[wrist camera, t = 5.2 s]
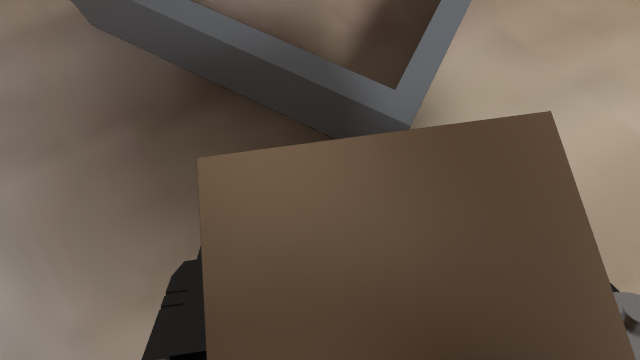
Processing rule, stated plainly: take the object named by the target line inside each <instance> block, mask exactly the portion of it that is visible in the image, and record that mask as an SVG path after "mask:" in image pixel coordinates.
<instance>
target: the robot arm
mask: <svg viewBox="0 0 640 360" xmlns="http://www.w3.org/2000/svg"><path fill="white" fill-rule="evenodd" d="M610 285H611V288H612V291H613V294H614V297H615V300H616V303H617V306H618V308H619V311H620V314H621V317H622V320H623V323H624V326H625V329H626V332H627V335H628V338H629V341H630V343H631V346H632V349H633V352H634V355H635V358H636V360H640V295H638V294H633V293H626V292H620V291H619V290H618V289H616V288H615V287H614V286H613V285H612V284H611V283H610ZM142 360H207V351H206V331H205V311H204V291H203V271H202V251H201V247H200V250H199V254H198V257H197V260H190V261H184V263H183V264H182V265H181V266H180V267H179V268H178V269H177V271H176V272H175V273H174V274H173V275H172V276H171V279H170V282H169V285H168V287H167V290H166V296H164V299H163V301H162V304H161V310H159V313H158V315H157V318H156V321H155V324H154V327H153V329H152V332H151V335H150V338H149V341H148V343H147V346H146V349H145V352H144V355H143V357H142Z"/></svg>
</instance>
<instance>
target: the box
mask: <svg viewBox="0 0 640 360" xmlns="http://www.w3.org/2000/svg"><path fill="white" fill-rule="evenodd" d="M71 1H72V2H73V3H74V4H75V6H76V7H77V8H78V9H79V10H80V12H81V13H82V14H83V15H84V16H85V17H86V19H87V20H88V21H89V22H90V23H91V25H93V26H95V27H97V28H99V29H102V30H104V31H106V32H108V33H110V34H112V35H114V36H116V37H119V38H121V39H123V40H125V41H127V42H129V43H131V44H134V45H136V46H138V47H140V48H142V49H144V50H146V51H149V52H151V53H153V54H155V55H157V56H159V57H161V58H163V59H166V60H168V61H170V62H172V63H174V64H176V65H178V66H181V67H183V68H185V69H187V70H189V71H191V72H193V73H195V74H198V75H200V76H202V77H204V78H206V79H208V80H210V81H213V82H215V83H217V84H219V85H221V86H223V87H225V88H227V89H230V90H232V91H234V92H236V93H238V94H240V95H242V96H245V97H247V98H249V99H251V100H253V101H255V102H257V103H260V104H262V105H264V106H266V107H268V108H270V109H272V110H274V111H277V112H279V113H281V114H283V115H285V116H287V117H289V118H292V119H294V120H296V121H298V122H300V123H302V124H304V125H306V126H309V127H311V128H313V129H315V130H317V131H319V132H321V133H324V134H326V135H328V136H330V137H332V138H334V139H343V138H351V137H358V136H366V135H373V134H381V133H388V132H396V131H404V130H409V128H410V126H411V124H412V122H413V120H414V118H415V115H416V113H417V111H418V109H419V107H420V105H421V103H422V101H423V99H424V97H425V95H426V93H427V91H428V89H429V87H430V85H431V82H432V80H433V78H434V76H435V74H436V72H437V70H438V68H439V66H440V64H441V62H442V60H443V58H444V56H445V54H446V52H447V49H448V47H449V45H450V43H451V41H452V39H453V37H454V35H455V33H456V31H457V29H458V27H459V25H460V23H461V21H462V19H463V16H464V14H465V12H466V10H467V8H468V6H469V4H470V2H471V0H441V2H440V4H439V6H438V8H437V9H436V11H435V13H434V15H433V17H432V19H431V21H430V23H429V25H428V27H427V29H426V31H425V33H424V35H423V37H422V39H421V41H420V43H419V45H418V47H417V49H416V50H415V52H414V54H413V56H412V58H411V60H410V62H409V64H408V66H407V68H406V70H405V72H404V74H403V76H402V78H401V80H400V82H399V84H398V86H397V88H396V90H394V89H392V88H389V87H387V86H385V85H382V84H380V83H378V82H376V81H373V80H371V79H369V78H366V77H364V76H362V75H360V74H357V73H355V72H353V71H351V70H348V69H346V68H344V67H341V66H339V65H337V64H335V63H332V62H330V61H328V60H325V59H323V58H321V57H319V56H316V55H314V54H312V53H309V52H307V51H305V50H303V49H300V48H298V47H296V46H294V45H291V44H289V43H287V42H284V41H282V40H280V39H278V38H275V37H273V36H271V35H268V34H266V33H264V32H262V31H259V30H257V29H255V28H252V27H250V26H248V25H246V24H243V23H241V22H239V21H237V20H234V19H232V18H230V17H227V16H225V15H223V14H221V13H218V12H216V11H214V10H211V9H209V8H207V7H205V6H202V5H200V4H198V3H195V2H193V1H191V0H71Z"/></svg>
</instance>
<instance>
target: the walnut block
mask: <svg viewBox="0 0 640 360" xmlns="http://www.w3.org/2000/svg"><path fill="white" fill-rule="evenodd" d="M197 171H198V191H199V211H200V231H201V251H202V271H203V291H204V311H205V331H206V351H207V360H636V358H635V355H634V352H633V349H632V346H631V343H630V341H629V338H628V335H627V332H626V329H625V326H624V323H623V320H622V317H621V314H620V311H619V308H618V306H617V303H616V300H615V297H614V294H613V291H612V288H611V285H610V282H609V279H608V276H607V273H606V271H605V268H604V265H603V262H602V259H601V256H600V253H599V250H598V247H597V244H596V241H595V238H594V236H593V233H592V230H591V227H590V224H589V221H588V218H587V215H586V212H585V209H584V206H583V203H582V201H581V198H580V195H579V192H578V189H577V186H576V183H575V180H574V177H573V174H572V171H571V168H570V166H569V163H568V160H567V157H566V154H565V151H564V148H563V145H562V142H561V139H560V136H559V133H558V131H557V128H556V125H555V122H554V119H553V116H552V113H551V111H548V112H540V113H533V114H525V115H517V116H510V117H502V118H495V119H487V120H479V121H472V122H464V123H457V124H449V125H442V126H434V127H426V128H419V129H411V130H404V131H396V132H388V133H381V134H373V135H366V136H358V137H351V138H343V139H335V140H328V141H320V142H313V143H305V144H297V145H290V146H282V147H275V148H267V149H260V150H252V151H244V152H237V153H229V154H222V155H214V156H206V157H199V158H197Z"/></svg>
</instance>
